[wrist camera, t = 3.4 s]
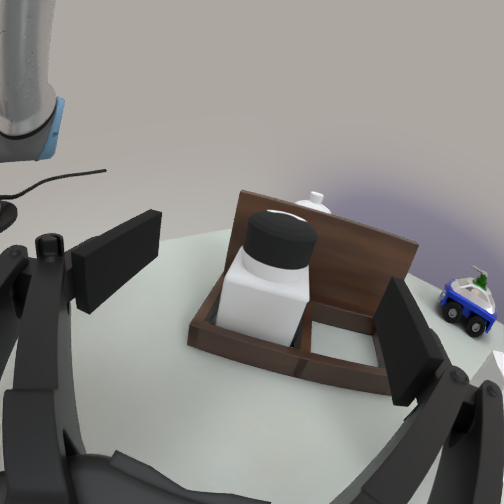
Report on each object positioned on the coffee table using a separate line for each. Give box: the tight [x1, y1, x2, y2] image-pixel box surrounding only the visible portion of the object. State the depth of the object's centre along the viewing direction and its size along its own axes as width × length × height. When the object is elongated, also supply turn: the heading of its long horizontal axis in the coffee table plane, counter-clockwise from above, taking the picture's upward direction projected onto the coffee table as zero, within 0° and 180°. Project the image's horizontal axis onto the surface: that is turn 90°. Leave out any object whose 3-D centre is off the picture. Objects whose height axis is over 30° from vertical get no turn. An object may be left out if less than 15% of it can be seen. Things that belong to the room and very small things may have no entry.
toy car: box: [439, 265, 497, 337], centre depth 38 cm, size 9×12×10 cm
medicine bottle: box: [215, 210, 318, 347], centre depth 27 cm, size 7×7×12 cm
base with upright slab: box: [408, 350, 504, 504], centre depth 11 cm, size 9×9×12 cm
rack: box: [187, 190, 419, 395], centre depth 27 cm, size 12×20×12 cm, turn 79°
